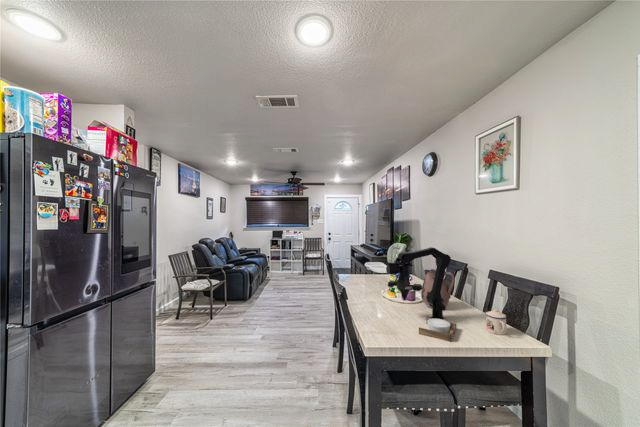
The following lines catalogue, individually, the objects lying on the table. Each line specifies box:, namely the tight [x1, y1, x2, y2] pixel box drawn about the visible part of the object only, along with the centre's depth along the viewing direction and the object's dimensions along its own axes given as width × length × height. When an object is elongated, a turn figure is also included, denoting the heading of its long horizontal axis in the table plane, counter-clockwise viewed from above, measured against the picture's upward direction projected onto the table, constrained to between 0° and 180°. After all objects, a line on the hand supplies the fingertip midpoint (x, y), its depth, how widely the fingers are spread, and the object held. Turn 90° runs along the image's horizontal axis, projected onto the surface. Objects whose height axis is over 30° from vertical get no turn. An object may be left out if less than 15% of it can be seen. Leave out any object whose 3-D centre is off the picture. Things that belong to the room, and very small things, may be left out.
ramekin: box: [427, 318, 451, 334], centre depth 134 cm, size 11×11×5 cm
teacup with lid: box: [485, 308, 507, 336], centre depth 133 cm, size 12×9×12 cm
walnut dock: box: [418, 317, 458, 343], centre depth 135 cm, size 17×15×3 cm
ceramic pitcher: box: [420, 268, 456, 309], centre depth 174 cm, size 18×21×25 cm
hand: (404, 300), depth 151 cm, fingers closed
